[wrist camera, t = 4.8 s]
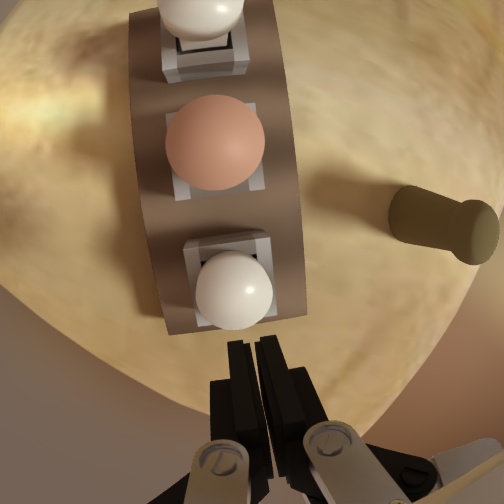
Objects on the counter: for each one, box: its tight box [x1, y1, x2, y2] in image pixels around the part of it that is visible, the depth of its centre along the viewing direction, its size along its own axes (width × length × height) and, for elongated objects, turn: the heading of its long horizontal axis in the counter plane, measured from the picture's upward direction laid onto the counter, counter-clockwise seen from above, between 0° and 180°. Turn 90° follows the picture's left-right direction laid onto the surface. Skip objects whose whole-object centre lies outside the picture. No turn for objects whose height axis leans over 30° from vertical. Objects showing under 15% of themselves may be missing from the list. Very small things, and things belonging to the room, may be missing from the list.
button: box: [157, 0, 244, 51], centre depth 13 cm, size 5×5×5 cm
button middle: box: [165, 95, 265, 191], centre depth 16 cm, size 5×5×5 cm
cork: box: [389, 186, 499, 265], centre depth 22 cm, size 6×6×11 cm
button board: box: [129, 0, 307, 335], centre depth 21 cm, size 28×12×6 cm, turn 7°
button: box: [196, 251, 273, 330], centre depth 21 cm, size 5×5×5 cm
